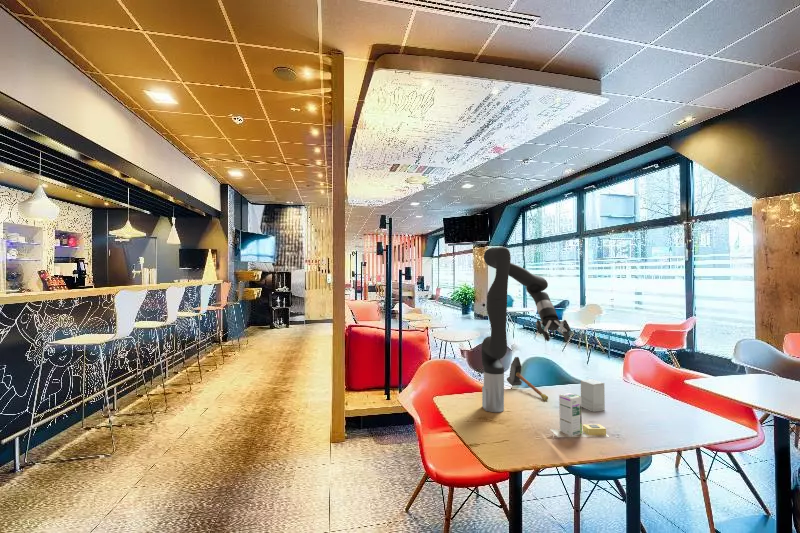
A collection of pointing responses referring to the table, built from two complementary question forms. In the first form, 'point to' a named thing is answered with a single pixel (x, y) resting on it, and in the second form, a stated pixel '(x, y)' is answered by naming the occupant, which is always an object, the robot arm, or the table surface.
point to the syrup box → (570, 414)
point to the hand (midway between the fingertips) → (557, 340)
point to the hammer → (521, 377)
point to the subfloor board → (561, 434)
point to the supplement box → (592, 395)
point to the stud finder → (594, 429)
